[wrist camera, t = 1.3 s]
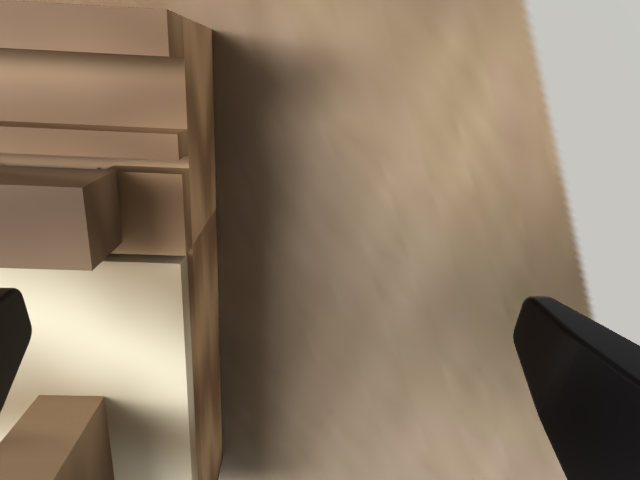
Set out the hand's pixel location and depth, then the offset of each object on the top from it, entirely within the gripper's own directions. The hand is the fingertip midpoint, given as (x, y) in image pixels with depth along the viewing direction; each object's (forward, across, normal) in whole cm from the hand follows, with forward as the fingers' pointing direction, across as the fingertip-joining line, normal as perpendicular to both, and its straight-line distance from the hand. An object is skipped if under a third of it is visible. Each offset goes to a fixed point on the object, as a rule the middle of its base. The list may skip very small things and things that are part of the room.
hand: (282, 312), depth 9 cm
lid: (+8, +8, +9) cm, 15 cm away
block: (+7, +8, +2) cm, 11 cm away
